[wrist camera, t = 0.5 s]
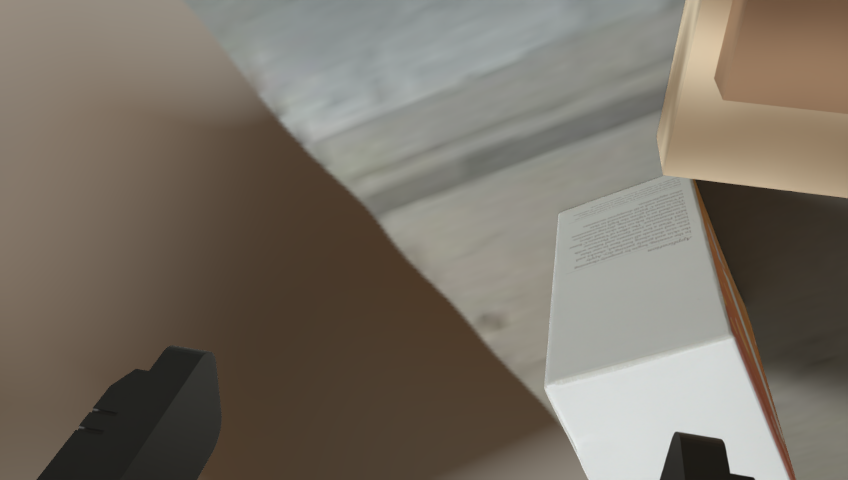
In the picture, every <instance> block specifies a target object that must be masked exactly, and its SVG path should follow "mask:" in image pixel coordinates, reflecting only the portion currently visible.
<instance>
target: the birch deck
mask: <svg viewBox="0 0 848 480" xmlns="http://www.w3.org/2000/svg"><path fill="white" fill-rule="evenodd" d="M732 1H733V0H686V1H685V6H684V10H683V15H682V20H681V24H680V29H679V34H678V39H677V43H676V48H675V53H674V57H673V62H672V67H671V71H670V76H669V81H668V86H667V90H666V95H665V100H664V104H663V109H662V114H661V118H660V123H659V128H658V132H657V142H658V148H659V154H660V160H661V165H662V171H663V175H666V176H674V177H682V178H690V179H698V180H706V181H714V182H722V183H730V184H738V185H747V186H755V187H763V188H771V189H779V190H787V191H795V192H803V193H811V194H819V195H827V196H835V197H843V198H848V114H843V113H834V112H825V111H816V110H807V109H798V108H789V107H780V106H771V105H762V104H753V103H744V102H735V101H726V100H723V99H722V97H721V94H720V92H719V89H718V87H717V85H716V82H715V80H714V76H715V72H716V67H717V63H718V59H719V55H720V51H721V47H722V43H723V38H724V34H725V30H726V26H727V22H728V18H729V14H730V10H731V5H732Z"/></svg>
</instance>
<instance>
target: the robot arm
mask: <svg viewBox="0 0 848 480" xmlns="http://www.w3.org/2000/svg"><path fill="white" fill-rule="evenodd" d="M221 417H222V416H221V405H220V396H219V387H218V378H217V368H216V360H215V356H214V354H213V353H212V352H209V351H203V350H197V349H190V348H185V347H179V346H169V347H167V348H166V349H165V350H164V352H163V353H162V354H161V356H160V357H159V358H158V360H157V361H156V362H155V364H154V365H153V366H152V368H151V369H150V370H149V371H145V370H139V369H135V370H134V371H132V372H131V373H129V374H128V375H126V376H125V377H123V378H122V379H120V380H119V381H117V382H116V383H114V384H113V385H111V386H110V387H109V388H108V390H107V391H106V392H105V393H104V395H103V396H102V397H101V399H100V400H99V401H98V402H97V403H96V405H95V406H94V407H93V411H92V413H91V412H90V413H89V414H88V415H87V416H86V417H85V419H84V420H83V421H82V423H81V424H80V425H79V429H78V430H75V431H74V433H73V434H72V436H71V437H70V438H69V439H68V440H67V442H66V443H65V444H64V445H63V447H62V448H61V449H60V451H59V452H58V453H57V454H56V456H55V457H54V459H53V460H52V461H51V462H50V463H49V465H48V466H47V467H46V469H45V470H44V471H43V472H42V474H41V475H40V476H39V477H38V479H37V480H197V479H198V477H199V475H200V473H201V472H202V470H203V468H204V466H205V464H206V463H207V461H208V459H209V457H210V456H211V454H212V452H213V450H214V448H215V446H216V443H217V440H218V437H219V433H220V428H221ZM660 480H755V478H754V477H749V476H743V475H738V474H732V473H730V468H729V463H728V457H727V452H726V447H725V443H724V441H723V440H722V439H719V438H713V437H707V436H701V435H695V434H689V433H683V432H675V433H674V435H673V437H672V440H671V443H670V446H669V450H668V453H667V457H666V460H665V463H664V467H663V470H662V474H661V477H660Z"/></svg>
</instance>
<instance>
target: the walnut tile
mask: <svg viewBox="0 0 848 480" xmlns="http://www.w3.org/2000/svg"><path fill="white" fill-rule="evenodd" d="M714 80H715V82H716V85H717V87H718V89H719V92H720V94H721V97H722V99H723V100H726V101H735V102H744V103H753V104H762V105H771V106H780V107H789V108H798V109H807V110H816V111H825V112H834V113H843V114H848V0H733V1H732V5H731V10H730V14H729V18H728V22H727V26H726V30H725V34H724V38H723V43H722V47H721V51H720V55H719V59H718V63H717V67H716V72H715V76H714Z"/></svg>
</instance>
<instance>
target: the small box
mask: <svg viewBox="0 0 848 480" xmlns="http://www.w3.org/2000/svg"><path fill="white" fill-rule="evenodd" d="M544 388H545V391H546V394H547V396H548V398H549V400H550V402H551V404H552V406H553V408H554V410H555V412H556V414H557V416H558V418H559V420H560V422H561V424H562V426H563V428H564V430H565V432H566V434H567V436H568V438H569V440H570V442H571V444H572V446H573V448H574V450H575V452H576V454H577V456H578V458H579V460H580V462H581V465H582V467H583V469H584V472H585V474H586V476H587V477H588V479H589V480H660V477H661V474H662V470H663V467H664V463H665V460H666V457H667V453H668V450H669V446H670V443H671V440H672V437H673V435H674V433H675V432H683V433H689V434H695V435H701V436H707V437H713V438H719V439H722V440H723V441H724V443H725V447H726V452H727V457H728V463H729V468H730V473H732V474H738V475H743V476H749V477H754V478H755V480H796V478H795V475H794V471H793V468H792V465H791V461H790V458H789V454H788V451H787V448H786V444H785V441H784V437H783V434H782V430H781V427H780V424H779V420H778V417H777V413H776V410H775V406H774V403H773V399H772V396H771V393H770V389H769V386H768V383H767V379H766V376H765V373H764V369H763V366H762V363H761V359H760V355H759V351H758V348H757V344H756V340H755V336H754V333H753V329H752V326H751V323H750V320H749V316H748V313H747V310H746V307H745V304H744V302H743V300H742V298H741V296H740V294H739V292H738V289H737V287H736V285H735V283H734V280H733V278H732V275H731V273H730V270H729V268H728V265H727V263H726V260H725V258H724V255H723V252H722V250H721V247H720V245H719V242H718V240H717V237H716V234H715V232H714V229H713V226H712V224H711V221H710V218H709V216H708V213H707V211H706V208H705V206H704V203H703V200H702V198H701V195H700V192H699V189H698V187H697V184H696V181H695V179H690V178H682V177H674V176H666V175H664V176H661V177H659V178H656V179H653V180H650V181H647V182H644V183H642V184H639V185H636V186H633V187H630V188H628V189H625V190H622V191H619V192H616V193H613V194H610V195H608V196H604V197H602V198H599V199H596V200H593V201H591V202H588V203H585V204H582V205H580V206H577V207H574V208H571V209H569V210H566V211H563V212H561V213H559V215H558V227H557V240H556V252H555V264H554V276H553V287H552V299H551V311H550V323H549V338H548V348H547V360H546V373H545V386H544Z"/></svg>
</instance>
